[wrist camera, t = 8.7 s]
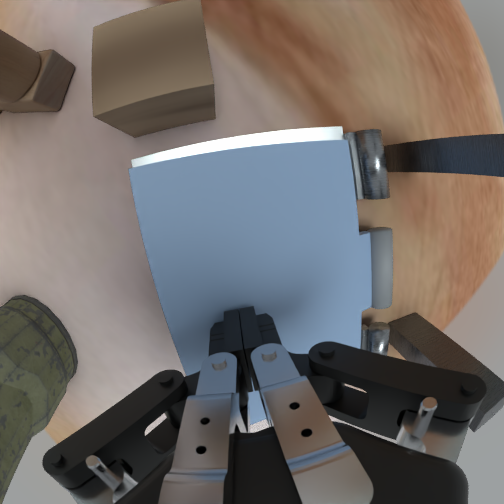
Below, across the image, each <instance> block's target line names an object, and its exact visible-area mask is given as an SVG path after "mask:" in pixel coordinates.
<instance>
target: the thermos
mask: <svg viewBox="0 0 504 504" xmlns="http://www.w3.org/2000/svg"><path fill="white" fill-rule="evenodd" d="M77 363H78V361H77V355H76V349H75V347H74V345H73V342H72V340H71V338H70V335H69V334H68V332H67V331H66V329H65V328H64V326H63V325H62V323H61V321H60V320H59V319H58V318H57V317H56V316H55V315H54V314H53V313H52V312H51V311H50V309H49V308H47V307H46V306H45V305H43V304H42V303H40V302H39V301H38V300H36V299H34V298H31V297H28V296H25V295H23V296H15V297H13V298H12V299H11V300H9V301H8V302H7V303H6V304H5V305H4V306H2V307H0V504H2V502H3V499H4V497H5V494H6V492H7V490H8V487H9V485H10V482H11V480H12V478H13V475H14V473H15V471H16V469H17V467H18V464H19V462H20V460H21V458H22V456H23V454H24V452H25V450H26V447H27V446H28V444H29V442H30V440H31V438H32V437H33V436H34V435H36V434H37V433H39V432H40V431H42V430H43V429H44V428H45V427H46V426H47V425H48V423H49V421H50V419H51V418H52V416H53V414H54V412H55V410H56V409H57V407H58V405H59V403H60V401H61V400H62V398H63V396H64V395H65V393H66V388H67V384H68V382H69V381H70V379H71V378H72V377H73V376H74V374H75V373H76V368H77Z"/></svg>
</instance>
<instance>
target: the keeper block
mask: <svg viewBox="0 0 504 504" xmlns="http://www.w3.org/2000/svg"><path fill="white" fill-rule="evenodd" d="M92 103H93V117H95V118H97V119H99V120H101V121H103V122H105V123H107V124H109V125H111V126H113V127H115V128H117V129H119V130H121V131H123V132H125V133H127V134H129V135H131V136H133V137H134V138H135V137H139V136H142V135H146V134H150V133H153V132H157V131H161V130H165V129H169V128H173V127H178V126H182V125H187V124H192V123H196V122H201V121H207V120H212V119H216V118H215V97H214V81H213V75H212V69H211V63H210V57H209V51H208V45H207V39H206V32H205V26H204V20H203V13H202V7H201V0H181V1H176V2H172V3H167V4H163V5H159V6H155V7H151V8H147V9H144V10H140V11H137V12H134V13H131V14H128V15H125V16H122V17H119V18H116V19H113V20H111V21H108V22H105V23H103V24H100V25H98V26H95V27H94V28H93V43H92Z"/></svg>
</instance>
